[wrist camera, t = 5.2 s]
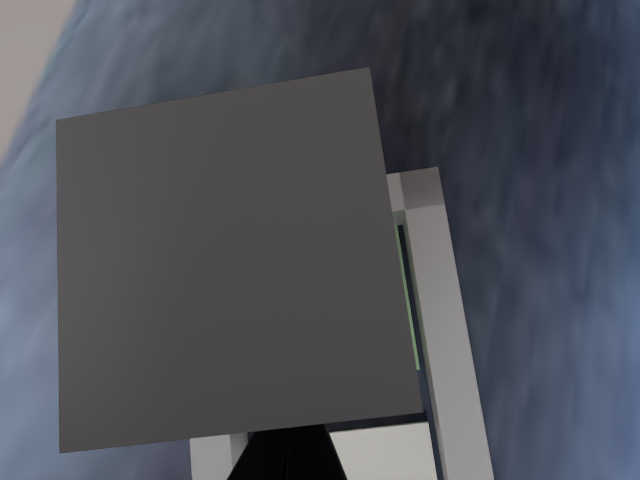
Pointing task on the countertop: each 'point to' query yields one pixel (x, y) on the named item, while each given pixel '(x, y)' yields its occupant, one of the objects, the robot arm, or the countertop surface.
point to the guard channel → (439, 356)
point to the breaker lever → (229, 267)
